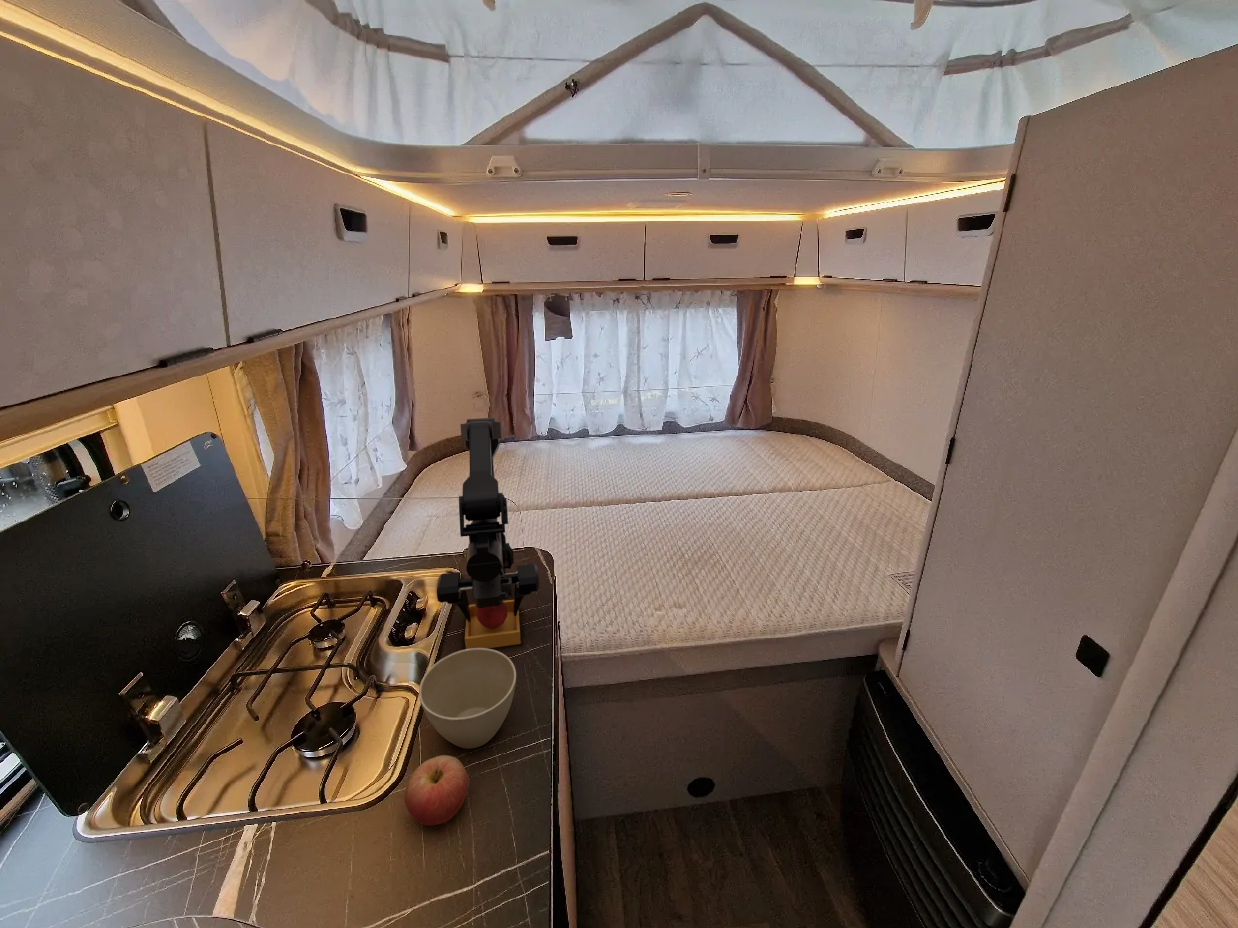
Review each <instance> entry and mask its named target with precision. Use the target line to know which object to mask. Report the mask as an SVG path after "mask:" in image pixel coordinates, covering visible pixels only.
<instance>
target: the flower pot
mask: <svg viewBox="0 0 1238 928" xmlns="http://www.w3.org/2000/svg"><path fill="white" fill-rule="evenodd" d="M516 683H517V670H516V667H515V664H514V663H513V661H512V660H511V659H510V657H508V656H507V655H506V654H504V653H503V652H501V651H499V650H496V649H493V648H471V649H466V648H465V649H461V650H458V651H455V652H452V653H450V654H448V655H446V656H445V657H443V658H441V659H439V660H437V662H435V663H434V664H432V666H430V668H429V669H428V670H427V671H426V673H425V674H424V676H423V677H422V679H421V681H420V685H419V687H418V698H419V702H420V705H421V706H422V709H423V712H424V714H425V716H426V718H427V719H428V721H429V723H430V724H431V725H432V727H433V728H434V730H435V731H436V732H437V733H438V734H439V735H440V736H441V737H442V738H444V739H445V740H447V741H448V742H449V743H450V744H452V745H454V746H456V747H459V748H460V749H468V750H469V749H476V748H479V747H482V746H484V745H485V744H487V743H488V742H489V741H491V740H492V739H493V737H495V736H496V734H497V732H498V731H499V730H500V728H501V727H502V726H503V724H504V723H505V722H504V721H505V720H506V718H507V716H508V715H509V711H510V708H511V706H512V702H513V699H514V695H515V691H516Z"/></svg>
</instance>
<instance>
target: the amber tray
mask: <svg viewBox="0 0 1238 928" xmlns="http://www.w3.org/2000/svg"><path fill="white" fill-rule="evenodd" d="M502 601H503V602H504V603H505V605H506V607H507V612H508V613H507V617H506V619H505V621H504V623H503V624H502V625H500V626H499V627H497V628H495V629H489V628H486V627H484V626H483V625H481V624H480V622H479V621H478V618H477V609H478V608H477V607H476V606H475V603H473V604H469V607H470V613H471V622H468V620H467V619H466V618H465V630H464V644H465V649H471V648H487V649H494V648H501V647H508V646H515V645H521V643H522V640H521V639H522V638H521V627H520V613H519V611H520V610H519V609H518V612H517V615H516V616H514V607H513V604H514V599H505V600H502Z"/></svg>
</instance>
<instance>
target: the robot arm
mask: <svg viewBox="0 0 1238 928" xmlns="http://www.w3.org/2000/svg"><path fill="white" fill-rule="evenodd" d="M459 426H460V438H461V439H460V440H461V442H465V447H466V448H467V450H468V453H469V476H467V478H466V479H465V480H464V481H463V483H462V493H461V494H462V495H459V496H458V512H459V513H458V514H459V515H458V517H459V534H460V537H468V542H469V543H468V546H467V553H466V554H467V555H466V568H465V569H466V574H467V575H468V576H469V577H467V578H462V575H461V572H460V571H456V572H447V573H446V572H445V573H441V574H440V575H439V576H438V579H437V584H436V598H437V602H438V603H440V604H441V603H447V604H448V605H456V606H457V607H458V608H459V609H460V611H461V613H462V614H463V615H464V617H465V620H466V619H467V620H468V622H471V613H470V607H469V605H470V604H469V603H470V602H469V598H468V594H467V591H472V590H473V601H474V604H475V606H476V607H477V608H484V607H490V606H495V607H496V606H500V605H501V604H502V601H504V600H509V597H512V596H513V600H514V604H513V607H514V616H516V615H517V612H518V610H519V609H520V606H521V603H522V601H523V599H524V597H526V596H528V595H531V594H532V592H538V591H539V590H540V577H539V570H538V568H539V567H538V566H537V564H535V563H530V564H521V565H519V564H518V565H516V569H517V570H516V571H515V572H509V573H506V572H507V571H506V570H507V569H508V570H510V569H512V566H513V565H514V564H515V559H514V549H513V548H512V547H511V545H510V542H507V537H506V534H505V533H506V525H509V517H508V516H509V515H508V514H509V513H508V502H507V497H505V494H504V493H503V492H500V489H499V481H498V480H497V479H496V477H495V466H494V458H495V457H496V454H497V453H498V450H499V448H500V439H503V434H502V422H501V421H496V417H482V418H481V417H479V418H467V419H466V422H465V423H460V425H459ZM499 518H500V519H501V520H500V521H501V523H500V521H498V519H499ZM465 520H466V521H467V522H470V523H468V524H465ZM513 585H514V590H513Z"/></svg>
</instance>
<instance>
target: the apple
mask: <svg viewBox="0 0 1238 928" xmlns="http://www.w3.org/2000/svg"><path fill="white" fill-rule="evenodd" d="M469 781H470V779H469V776H468V773H467V770H466V768H465V766H464V765H463V763H462V762H461V761H460V760H459V759H458V758H457V757H455V756H452V755H446V754H442V755H441V754H440V755H437V756H434V757H432V758H429V759H426V760H424V762H422V763H421V764H420V765H418V766H417V767H416V768H415V769H414V771H413V772H412V774H411V775H410V777H409V779H408V781H407V784H406V787H405V789H404V804H405V807H406V810H407V813H409V815H410V817H412V819H414V820H415V821H416V822H418V823H420V824H422V825H424V826H435V825H440V824H444V823H446V822H448V821H450V820H451V819H453V817H454V816H456V815H457V814H458V812H459V811H460V809H461V808H462V806H463V804H464V802H465V799H466V796H467V793H468V789H469Z"/></svg>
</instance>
